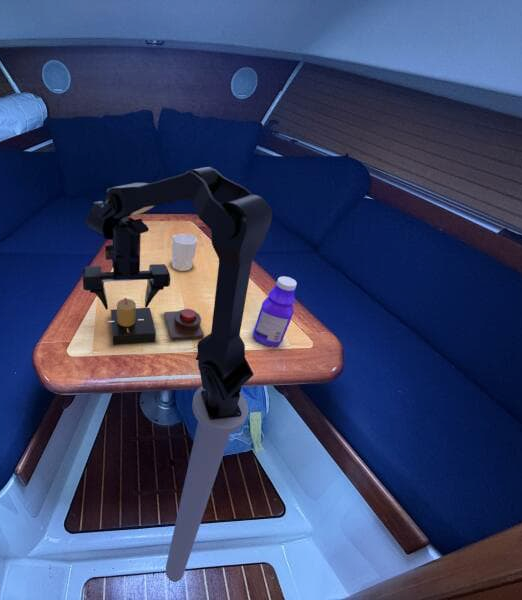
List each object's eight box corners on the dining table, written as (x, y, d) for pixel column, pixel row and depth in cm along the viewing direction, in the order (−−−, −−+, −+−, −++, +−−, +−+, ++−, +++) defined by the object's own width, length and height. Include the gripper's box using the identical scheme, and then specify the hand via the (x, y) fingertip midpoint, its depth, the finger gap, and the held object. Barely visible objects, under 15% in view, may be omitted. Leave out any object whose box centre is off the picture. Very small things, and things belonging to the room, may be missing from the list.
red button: (196, 322, 80) (197, 317, 79) (182, 323, 79) (183, 317, 78) (192, 313, 82) (193, 308, 81) (179, 314, 82) (179, 309, 81)
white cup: (165, 265, 108) (167, 238, 102) (180, 258, 112) (183, 231, 107) (183, 274, 103) (186, 246, 98) (198, 266, 108) (202, 239, 103)
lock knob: (136, 326, 76) (136, 308, 73) (117, 327, 76) (117, 309, 72) (134, 314, 80) (134, 297, 77) (116, 315, 79) (116, 298, 76)
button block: (204, 338, 79) (205, 329, 77) (171, 341, 77) (172, 331, 76) (193, 313, 87) (195, 304, 85) (164, 315, 85) (164, 306, 84)
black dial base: (155, 342, 77) (155, 332, 75) (109, 345, 75) (109, 335, 73) (149, 316, 85) (149, 306, 83) (107, 318, 83) (107, 309, 81)
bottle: (283, 337, 81) (305, 279, 71) (280, 351, 77) (303, 291, 67) (254, 328, 83) (272, 270, 73) (249, 341, 79) (268, 281, 69)
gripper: (163, 230, 74) (159, 287, 83) (81, 231, 71) (86, 290, 80) (173, 252, 65) (167, 313, 74) (80, 255, 62) (85, 317, 71)
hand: (126, 307), depth 75 cm, fingers open, 9 cm apart
